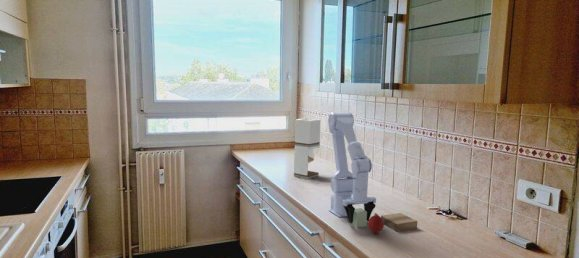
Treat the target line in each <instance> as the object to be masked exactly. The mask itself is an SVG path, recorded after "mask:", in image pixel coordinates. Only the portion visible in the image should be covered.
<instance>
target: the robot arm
mask: <svg viewBox="0 0 579 258" xmlns="http://www.w3.org/2000/svg"><path fill="white" fill-rule="evenodd" d="M354 123H355V117H354V115H353V113H352V112H332V111H331V112H330V114H329V115H328V118H327V124H328V131H329V133H330V134H331V135H332V144H333V152H334V160H335V168H336V170H335V172H334V173H333V174H332V176H331V177H330V178H331V179H330V180H331V183H330V189H331V191H332V193H331V196H330V208H328V211H329V212H330V213H332V214H334V215H335V216H337V217H338V218H341V217H343V218H344V217H347V222H348V223H350V224H351V223H353V215H354V210H355V209H356V208H355V207H354V206H355V205H361V204H363V208H364V209H363V210H365V211H367V221H366V222H368V221H369V219H370V218H371V215H372V213H373V211H374V209H375V208H376V203H377V197H375V196H368V187H369V186H368V185H369V173H370V172H372V168H373V164H372V161H371V159H370V158H369V157H368V156H367V155H366V154H365V152H364V148H363V146H362V144H361V143H360V142H358V141H357V136H356V132H355V129H354ZM345 140H346V141H347V144H348V145H347V150H346V142H345ZM347 151H348V154H349V157H350V160H351V163H350V168H351V171H350V170H349V167H348V166H349V165H348V158H347Z"/></svg>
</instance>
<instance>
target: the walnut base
mask: <svg viewBox="0 0 579 258" xmlns="http://www.w3.org/2000/svg"><path fill="white" fill-rule="evenodd" d="M380 217H381V218H382V220H383V222H384V226H385V227H388V228H390V229H391V230H393V231H395V232H396V233H397V232H402V231H409V230H415V229H418V220H416V219H414V218H412V217H410V216H408V215H406V214H404V213H402V212H399V213H391V214H390V213H389V214H383V215H380Z"/></svg>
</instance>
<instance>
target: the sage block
mask: <svg viewBox="0 0 579 258" xmlns="http://www.w3.org/2000/svg"><path fill="white" fill-rule="evenodd" d="M367 222H368V221H367V211H365V210H364V209H363V208H355V210H354V215H353V223H350V225H352V226H353V227H356V228H364V227H367Z"/></svg>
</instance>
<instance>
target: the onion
mask: <svg viewBox="0 0 579 258" xmlns="http://www.w3.org/2000/svg"><path fill="white" fill-rule="evenodd" d="M384 226H385V225H384V222H383V220H382V218H381V215H379V214H378V213H376V212H375V213H374V215H372V216H370V218H369V221H367V227H368V229H369V230H370V231H371V232H372V233H373V234H374V235H376V234H379V233H380V232H382V231H383V230H384Z"/></svg>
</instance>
